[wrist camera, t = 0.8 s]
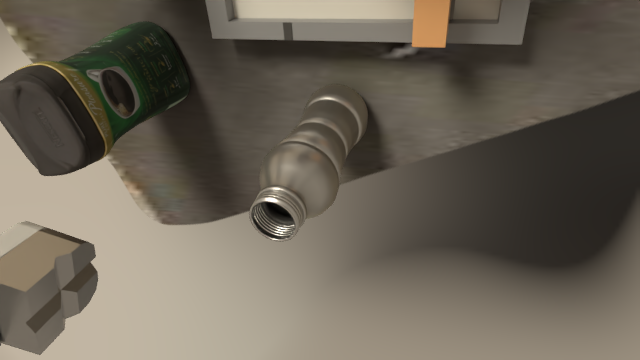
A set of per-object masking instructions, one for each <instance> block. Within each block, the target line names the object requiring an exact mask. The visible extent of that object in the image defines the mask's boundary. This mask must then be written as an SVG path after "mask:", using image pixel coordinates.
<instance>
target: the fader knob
mask: <svg viewBox="0 0 640 360" xmlns="http://www.w3.org/2000/svg"><path fill="white" fill-rule="evenodd" d="M454 9H455V0H414V17H413V34H412V47H440V48H445V46H446V40H447V34H448V28H449V20H453V18H454Z"/></svg>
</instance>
